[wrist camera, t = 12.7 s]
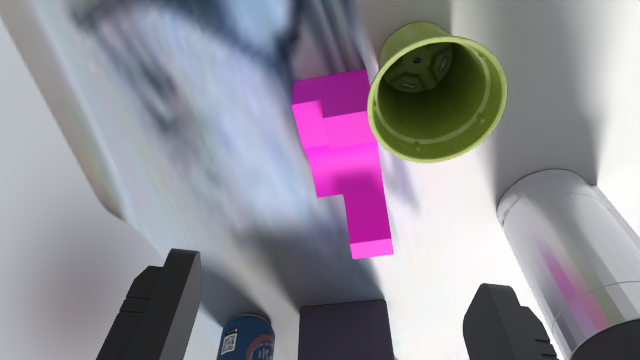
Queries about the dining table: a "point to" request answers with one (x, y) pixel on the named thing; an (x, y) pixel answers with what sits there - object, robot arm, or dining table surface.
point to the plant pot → (434, 94)
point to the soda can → (247, 339)
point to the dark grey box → (345, 332)
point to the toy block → (345, 155)
